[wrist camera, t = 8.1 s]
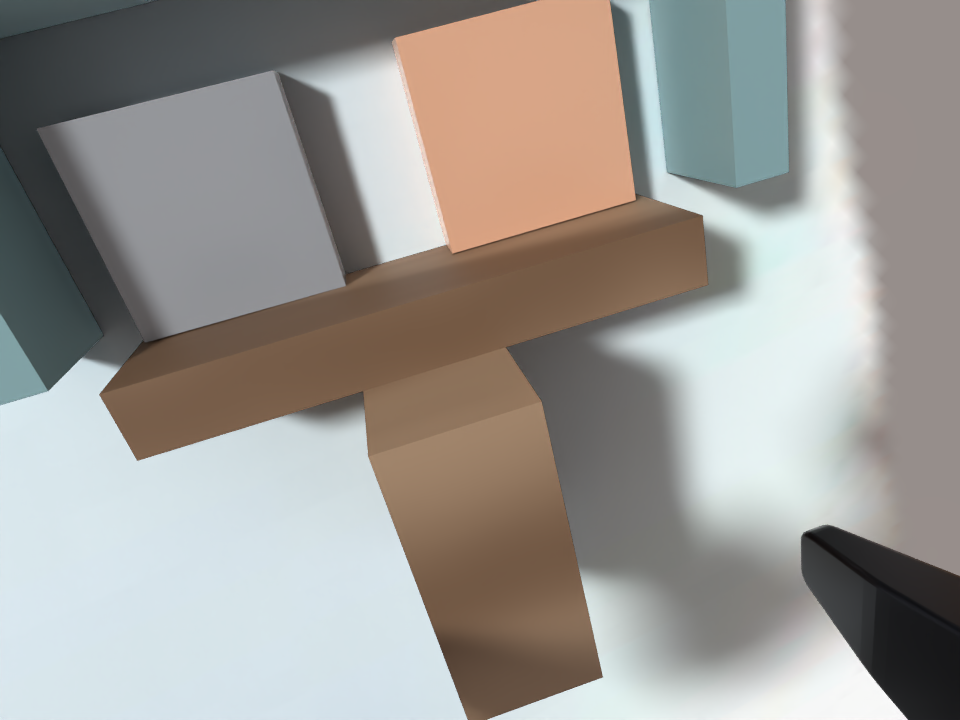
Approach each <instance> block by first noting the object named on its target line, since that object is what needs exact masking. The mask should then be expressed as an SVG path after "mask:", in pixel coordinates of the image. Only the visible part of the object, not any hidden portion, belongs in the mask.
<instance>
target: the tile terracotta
mask: <svg viewBox="0 0 960 720" xmlns="http://www.w3.org/2000/svg"><path fill="white" fill-rule="evenodd" d="M392 46H393V49H394V53H395V57H396V60H397V64H398V68H399V72H400V75H401V79H402V83H403V87H404V90H405V94H406V98H407V102H408V105H409V109H410V113H411V116H412V120H413V124H414V128H415V131H416V135H417V139H418V143H419V146H420V150H421V154H422V158H423V161H424V165H425V169H426V172H427V176H428V180H429V184H430V187H431V191H432V195H433V199H434V202H435V206H436V210H437V214H438V217H439V221H440V225H441V228H442V232H443V236H444V240H445V243H446V245H447V247H448V248H449V249H450V251H451V252H452V254H453V253H456V252H460V251H463V250H467V249H470V248H473V247H477V246H480V245H484V244H487V243H491V242H494V241H497V240H501V239H504V238H508V237H511V236H515V235H518V234H521V233H525V232H528V231H532V230H535V229H539V228H542V227H545V226H549V225H552V224H556V223H559V222H563V221H566V220H569V219H573V218H576V217H580V216H583V215H587V214H590V213H593V212H597V211H600V210H604V209H607V208H611V207H614V206H617V205H621V204H624V203H628V202H631V201H634V200H636V197H635V189H634V181H633V174H632V166H631V158H630V151H629V143H628V136H627V128H626V120H625V113H624V105H623V97H622V90H621V82H620V74H619V67H618V59H617V51H616V44H615V36H614V29H613V21H612V13H611V6H610V0H539V1H535V2H531V3H527V4H523V5H519V6H515V7H512V8H508V9H504V10H500V11H496V12H492V13H488V14H485V15H481V16H477V17H473V18H469V19H465V20H461V21H457V22H454V23H450V24H446V25H442V26H438V27H434V28H430V29H427V30H423V31H419V32H415V33H411V34H407V35H403V36H399V37H396V38H394V40H393V41H392Z"/></svg>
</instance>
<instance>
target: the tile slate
mask: <svg viewBox="0 0 960 720" xmlns="http://www.w3.org/2000/svg"><path fill="white" fill-rule="evenodd" d="M36 130H37V132H38V134H39V136H40V138H41V140H42V141H43V143H44V145H45V147H46V149H47V151H48V153H49V155H50V157H51V159H52V161H53V163H54V165H55V167H56V169H57V171H58V173H59V175H60V177H61V179H62V181H63V183H64V185H65V187H66V189H67V191H68V193H69V195H70V196H71V198H72V200H73V202H74V204H75V206H76V208H77V210H78V212H79V214H80V216H81V218H82V220H83V222H84V224H85V226H86V228H87V230H88V232H89V234H90V236H91V238H92V240H93V242H94V244H95V246H96V248H97V250H98V252H99V253H100V255H101V257H102V259H103V261H104V263H105V265H106V267H107V269H108V271H109V273H110V275H111V277H112V279H113V281H114V283H115V285H116V287H117V289H118V291H119V293H120V295H121V297H122V299H123V301H124V303H125V305H126V307H127V309H128V310H129V312H130V314H131V316H132V318H133V320H134V322H135V324H136V326H137V328H138V330H139V332H140V334H141V336H142V338H143V340H144V342H145V343H146V342H149V341H153V340H156V339H160V338H164V337H167V336H171V335H174V334H178V333H181V332H185V331H188V330H192V329H195V328H199V327H202V326H206V325H210V324H213V323H217V322H220V321H224V320H227V319H231V318H234V317H238V316H241V315H245V314H248V313H252V312H256V311H259V310H263V309H266V308H270V307H273V306H277V305H280V304H284V303H287V302H291V301H295V300H298V299H302V298H305V297H309V296H312V295H316V294H319V293H323V292H326V291H330V290H333V289H337V288H341V287H344V286H346V273H345V270H344V267H343V264H342V261H341V258H340V255H339V252H338V249H337V246H336V243H335V240H334V237H333V234H332V231H331V228H330V225H329V222H328V219H327V216H326V213H325V210H324V208H323V205H322V202H321V199H320V196H319V193H318V190H317V187H316V184H315V181H314V178H313V175H312V172H311V169H310V166H309V163H308V160H307V157H306V154H305V151H304V148H303V145H302V142H301V139H300V136H299V133H298V130H297V127H296V124H295V121H294V118H293V115H292V112H291V109H290V106H289V103H288V100H287V97H286V94H285V91H284V88H283V85H282V82H281V79H280V76H279V73H278V72H276V71H274V70H272V71H268V72H264V73H260V74H256V75H252V76H248V77H244V78H240V79H235V80H231V81H227V82H223V83H219V84H215V85H211V86H207V87H203V88H199V89H195V90H191V91H187V92H183V93H179V94H175V95H171V96H167V97H163V98H159V99H154V100H150V101H146V102H142V103H138V104H134V105H130V106H126V107H122V108H118V109H114V110H110V111H106V112H102V113H98V114H94V115H90V116H86V117H82V118H77V119H73V120H69V121H65V122H61V123H57V124H53V125H49V126H45V127H41V128H37V129H36Z"/></svg>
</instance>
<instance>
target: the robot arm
mask: <svg viewBox="0 0 960 720" xmlns="http://www.w3.org/2000/svg"><path fill="white" fill-rule="evenodd" d="M801 569H802V574H803V577H804V580H805V582H806V584H807V585H808V587H809V589H810V590H811V591H812V593H813V594H814V596H815V597H816V599H817V600H818V601H819V603H820V604H821V606H822V607H823V609H824V610H825V611H826V613H827V614H828V616H829V617H830V619H831V620H832V621H833V623H834V624H835V626H836V627H837V628H838V630H839V631H840V633H841V634H842V636H843V637H844V638H845V640H846V641H847V643H848V644H849V646H850V647H851V648H852V650H853V651H854V653H855V654H856V656H857V657H858V658H859V660H860V661H861V663H862V664H863V665H864V667H865V668H866V669H867V671H868V672H869V674H870V675H871V676H872V677H873V679H874V680H875V681H876V682H877V684H878V685H879V686H880V687H881V688H882V690H883V691H884V692H885V693H886V694H887V696H888V697H889V698H890V699H891V700H892V701H893V703H894V704H895V705H896V706H897V707H898V709H899V710H900V711H901V712H902V713H903V714H904V716H905V717H906V718H907V719H908V720H960V576H958V575H955V574H953V573H951V572H948V571H946V570H943V569H940V568H938V567H935V566H933V565H930V564H928V563H925V562H923V561H920V560H918V559H915V558H913V557H910V556H908V555H905V554H903V553H900V552H898V551H895V550H892V549H890V548H887V547H885V546H882V545H880V544H877V543H875V542H872V541H870V540H867V539H865V538H862V537H860V536H857V535H855V534H852V533H850V532H847V531H844V530H842V529H839V528H837V527H834V526H831V525H822V526H819V527H816V528H814V529H811V530H808V531H806V532H804V533H803V535H802V537H801Z"/></svg>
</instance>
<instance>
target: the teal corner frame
mask: <svg viewBox="0 0 960 720" xmlns="http://www.w3.org/2000/svg"><path fill="white" fill-rule="evenodd" d="M153 1H157V0H0V38H5V37H9V36H13V35H17V34H21V33H25V32H29V31H33V30H37V29H42V28H46V27H50V26H54V25H58V24H62V23H66V22H70V21H75V20H79V19H83V18H87V17H91V16H95V15H99V14H103V13H108V12H112V11H116V10H120V9H124V8H128V7H132V6H136V5H140V4H145V3H149V2H153ZM649 3H650V13H651V22H652V32H653V42H654V51H655V61H656V71H657V81H658V90H659V100H660V110H661V119H662V129H663V139H664V148H665V158H666V168H667V172H668V173H673V174H677V175H682V176H686V177H690V178H695V179H699V180H704V181H708V182H713V183H717V184H721V185H726V186H730V187H735V188H737V187H741V186H744V185H748V184H751V183H754V182H758V181H761V180H765V179H768V178H771V177H775V176H778V175H781V174H785V173H788V172H789V152H788V102H787V52H786V2H785V0H649ZM102 336H103V333H102V331H101V330H100V328H99V326H98V324H97V322H96V321H95V319H94V317H93V315H92V313H91V311H90V310H89V308H88V306H87V304H86V302H85V300H84V299H83V297H82V295H81V293H80V291H79V289H78V288H77V286H76V284H75V282H74V280H73V279H72V277H71V275H70V273H69V271H68V269H67V268H66V266H65V264H64V262H63V260H62V258H61V257H60V255H59V253H58V251H57V249H56V247H55V246H54V244H53V242H52V240H51V238H50V237H49V235H48V233H47V231H46V229H45V227H44V226H43V224H42V222H41V220H40V218H39V216H38V215H37V213H36V211H35V209H34V207H33V205H32V204H31V202H30V200H29V198H28V196H27V194H26V193H25V191H24V189H23V187H22V185H21V184H20V182H19V180H18V178H17V176H16V174H15V173H14V171H13V169H12V167H11V165H10V163H9V162H8V160H7V158H6V156H5V154H4V152H3V151H2V149H1V147H0V405H3V404H6V403H10V402H13V401H16V400H20V399H23V398H26V397H30V396H33V395H37V394H40V393H43V392H47V391H49V390H50V389H51V388H52V387H53V386H54V385H55V384H56V383H57V382H58V381H59V380H60V379H61V378H62V377H63V376H64V375H65V374H66V373H67V372H68V371H69V370H70V369H71V368H72V367H73V366H74V365H75V364H76V363H77V362H78V361H79V360H80V359H81V358H82V357H83V356H84V355H85V354H86V353H87V352H88V351H89V350H90V349H91V348H92V347H93V345H94V344H95V343H96V342H97V341H98V340H99V339H100V338H101V337H102Z"/></svg>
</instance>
